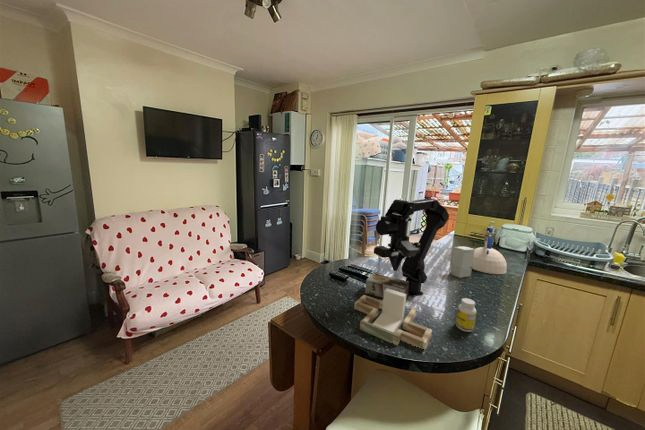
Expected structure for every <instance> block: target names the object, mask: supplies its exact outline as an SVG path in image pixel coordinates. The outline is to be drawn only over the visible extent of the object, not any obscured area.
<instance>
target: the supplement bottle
mask: <svg viewBox="0 0 645 430" xmlns="http://www.w3.org/2000/svg"><path fill="white" fill-rule="evenodd" d="M475 306H476V301H474V300H473V299H471V298H469V297H468V298H467V297H465V298H464V297H463V298H461V301H460V304H459V305H458V306H457V313H456V319H455V325H456V327H457V328H458V329H459V330H461V331H463V332H465V333H466V332H468V333H469V332H470V333H472V332H474V328H475V324H476V323H475V322H476V319H477V318H476V317H477V309H476V308H475Z"/></svg>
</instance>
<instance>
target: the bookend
mask: <svg viewBox="0 0 645 430" xmlns="http://www.w3.org/2000/svg"><path fill="white" fill-rule="evenodd" d="M382 300H383V309H381V310H382V311H381V313H380V315H378V316H377V317H376V318H375V319H374V321H373V322H372V324H374V325H376V326H379V327H381V328H384V329H386V330H388V331H391V332H393V333H396V331H397V330H398V329H399V328H400V327H401V325H403V321H404V320H405V310H406V309H405V308H406V302H407V301H406V300H407V299H406V294H404V293H401V292H398V291H394V290H391V289H388V288H386V289H385V290H384V298H382Z"/></svg>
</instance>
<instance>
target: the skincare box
mask: <svg viewBox="0 0 645 430" xmlns="http://www.w3.org/2000/svg"><path fill="white" fill-rule="evenodd" d="M475 249H476V248H471V247H469V246H454V247H453V255H452V261H451V269H450V274H451V275H453V276H454V277H457V278H459V279H461V278H466V277H471V275H472V270H473V269H472V263H473V256H474V250H475Z"/></svg>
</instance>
